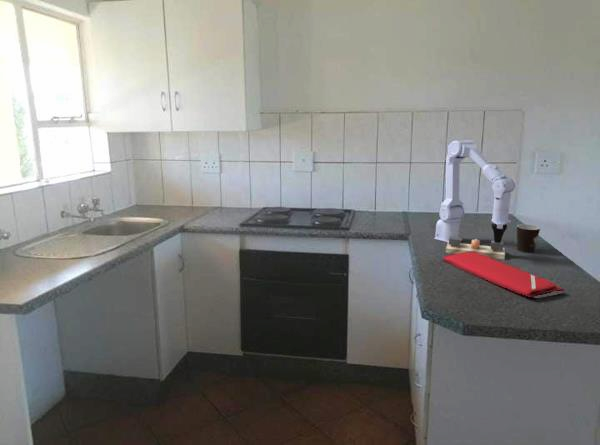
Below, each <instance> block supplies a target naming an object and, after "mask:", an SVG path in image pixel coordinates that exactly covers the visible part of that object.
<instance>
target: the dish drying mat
mask: <svg viewBox="0 0 600 445" xmlns="http://www.w3.org/2000/svg"><path fill="white" fill-rule="evenodd" d="M442 261H443V262H446V263H447V264H449V263H450V264H449V265H451V264H452V266H453V267H456V268H458V269H461V270H462V269H463V270H462V271H464V270H465V271H464V272H467V273H469V274H471V275H473V274H474V276H475V275H476V277H478V278H480V279H482V278H483V280H485V281H487V280H488V282H490V283H492V284H495V285H497V286H500V287H502V288H504V289H506V288H507V289H506V290H509V291H510V292H513V291H514V292H513V293H516V294H518V295H521V294H522V295H521V296H524V295H525V296H524V297H527V296H528V297H527V298H530V297H535V296H538V295H543V294H547V293H551V292H553V291H561V290H562V291H564V292H565V290H564V288H563V287H560V286H558V285H555V283H553V281H551V280H548V279H545V278H543V277H540V276H537V275H535V274H532V273H529V272H527V271H526V270H522V269H520V268H518V267H515V266H512V265H510V264H508V263H507V264H506V263H504V262H502V261H499V260H498V259H495V258H489V257H487V256H485V255H482V254H478V253H472V252H465V253H457V254H449V255H446V256H444V257H442Z"/></svg>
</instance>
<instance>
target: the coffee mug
mask: <svg viewBox="0 0 600 445" xmlns="http://www.w3.org/2000/svg"><path fill="white" fill-rule="evenodd" d="M540 231H541V227H540V226H537V225H534V224H517V225H516V250H517V251H519V252H521V253H525V254H526V253H527V254H529V253H530V254H531V253H534V252H535V250H536V249H535V248H536V246H537V242H538V237H539V235H540V234H539V233H540Z"/></svg>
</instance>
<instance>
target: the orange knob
mask: <svg viewBox="0 0 600 445" xmlns="http://www.w3.org/2000/svg"><path fill="white" fill-rule="evenodd" d="M470 244H471V248H472V249H479V247H480V245H481V240H480V239H477V238H475V239H471V242H470Z"/></svg>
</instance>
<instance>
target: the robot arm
mask: <svg viewBox="0 0 600 445" xmlns="http://www.w3.org/2000/svg"><path fill="white" fill-rule="evenodd" d="M467 158H470V159H471V160H472V161H473V162H474V163H475V164H476V165H477V166H478V167H479V168H480V169H481V170H482V176H484V178H486V180H487V181H488V182H489V183H490V184H491V189H492V191H493V196H494V198H493V208H492V218H491V222H492V223H491V228H492V229H491V230H492V232H493V240H494V241H495V242H496V243H500V242H501V241H502V239H503V237H504V236H503V235H504V234H505V232H506V230H507V229H508V225H507V224H510V223H512V221H511V219H509V215H510V214H509V213H510V206H511V205H510V204H511V198H512V197H511V196H512V195H511V194H512V192H514V190H515V187H516V183H515V180H514V179H513V178H512V177H508V176H506V174H505V173H503V172H502V171H501V170H500V169H499V166H498V165H497V164H493V163H491V164H490V162H489V161H488V159H486V157H485V156H484V154H482V152H481V151H480V150H479V148H478V145H477V144H476V143H475V141H473V140H472V139H468V140H453V141H452V142H450V143H449V145H447V155H446V159H445V160H446V161H445V163H446V164H445V165H446V166H445V199H444V200H443V201H442V202H441V203H440V210H439V213H438V214H439V218H440V219H438V220H437V222H436V225H435V234H434V236H435V237H434V238H433V240H438V241H441V242H446V243H448V242H449V238H450V236H454V237H460V235H459V234H460V222H461V221H462V218H464V216H465V208H464V202H462V200H461V199H460V163H461V162H463V160H464V159H467ZM462 241H463V239H462V238H461V242H462Z"/></svg>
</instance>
